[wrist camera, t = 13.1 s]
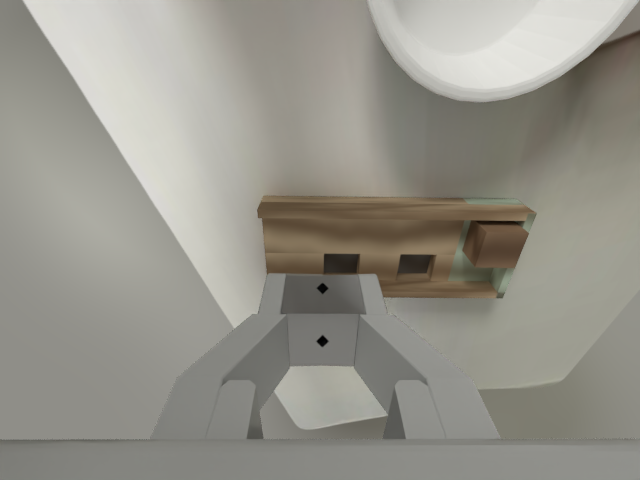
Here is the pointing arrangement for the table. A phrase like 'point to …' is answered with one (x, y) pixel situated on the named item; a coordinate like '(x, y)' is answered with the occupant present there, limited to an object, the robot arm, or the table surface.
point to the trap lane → (388, 241)
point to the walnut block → (494, 243)
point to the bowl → (492, 41)
